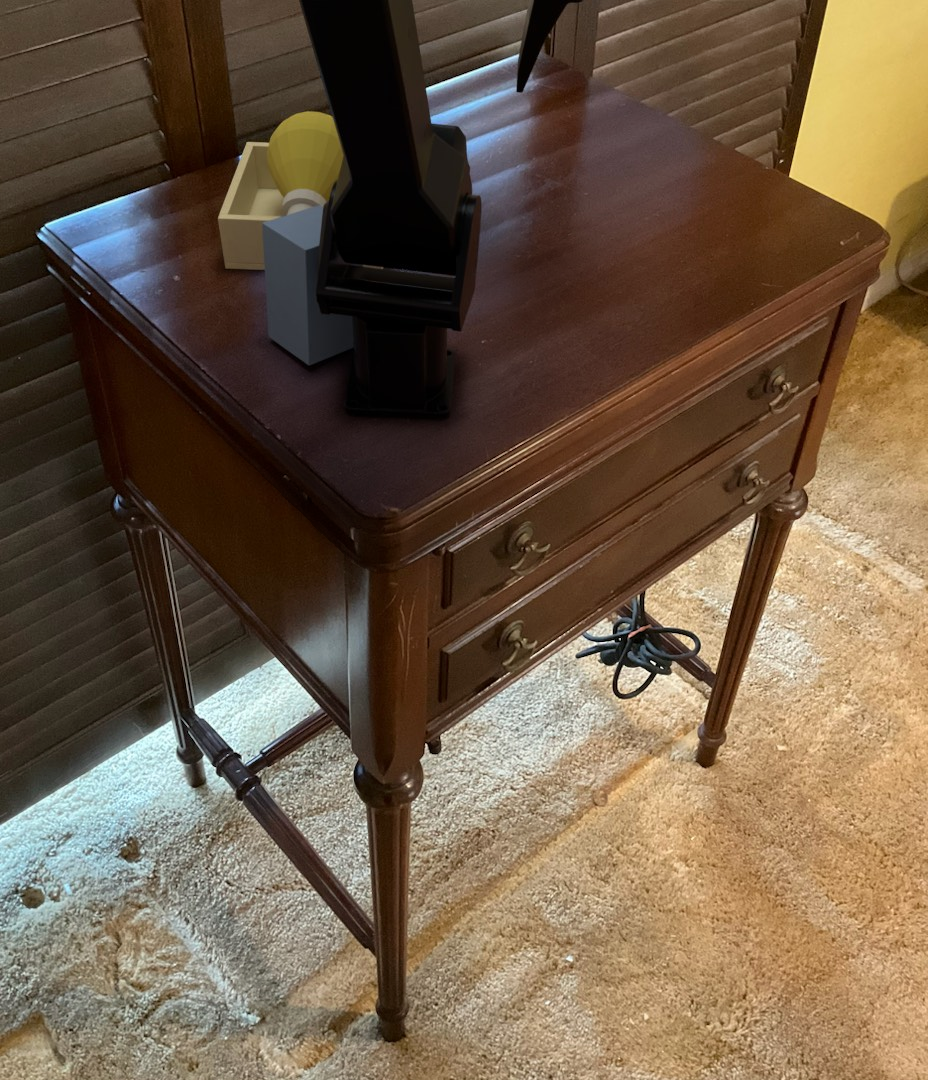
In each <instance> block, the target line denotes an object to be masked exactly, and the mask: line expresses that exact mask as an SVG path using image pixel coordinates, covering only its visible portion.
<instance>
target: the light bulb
mask: <svg viewBox="0 0 928 1080" xmlns="http://www.w3.org/2000/svg"><path fill="white" fill-rule="evenodd" d="M268 143H269V146H268V150H267V157H266V158H267V164H268V169H269V171H270V174H271V176H272V178H273V180H274V182H275V184H276V186H277V188H278V190H279V191H280V193H281V195H282V196H283V197H284V200H283V204H282V210H281V213H282V216H286V215H289V214H292V213H295V212H299V211H302V210H305V209H308V208H311V207H315V206H318V205H320V206H322V207H323V206H324V204H325V203H326V202H327V201H328V200H329V198H330V193H331V190H332V187H333V184H334V182H335V181H336V180H337V179H338V177H339V172H340V168H341V164H342V159H343V151H342V148H341V144H340V141H339V137H338V134H337V130H336V127H335V123H334V120H333V117H332V115H330V114H327V113H324V112H320V111H310V110H309V111H308V110H307V111H303V112H298V113H295V114H292V115H291V116H289V117H287V118H286V119H284V120H283V121H282V122H281V123H280V124H279V125H278V126H277V128H276V129H275V130H274V131H273V133H272V135H271V136H270V139H269V142H268Z"/></svg>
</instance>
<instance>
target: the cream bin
mask: <svg viewBox="0 0 928 1080" xmlns="http://www.w3.org/2000/svg"><path fill="white" fill-rule="evenodd" d="M268 146H269V142H261V141H260V142H259V141H258V142H257V141H247V142H246V144H245V147H244V149H243V152H242V154H241V156H240V159H239V162H238V165H237V167H236V170H235V173H234V174H233V177H232V180H231V183H230V185H229V188H228V191H227V193H226V196H225V198H224V201H223V202H222V203H223V204H222V205H221V209H220V211H219V214H218V217H217V223H218V229H219V235H220V241H221V248H222V255H223V261H224V268H225V269H227V270H228V269H229V270H252V271H265V266H264V248H263V231H262V223H263V222H266V221H270V220H273V219H276V218H279V217H282V213H281V210H282V204H283V200H284V197H283V196H282V195H281V193H280V191H279V190H278V188H277V186H276V184H275V182H274V180H273V178H272V176H271V174H270V171H269V169H268V164H267V158H266V157H267V150H268ZM363 267H370V268H378V269H385V267H377V266H368V265H363Z"/></svg>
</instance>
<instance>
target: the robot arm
mask: <svg viewBox="0 0 928 1080" xmlns="http://www.w3.org/2000/svg"><path fill="white" fill-rule="evenodd" d="M584 1H585V0H528V3H527V8H526V13H525V20H524V25H523V30H522V36H521V42H520V46H519V51H518V52H519V53H518V59H517V66H516V67H517V69H516V89H515V90H516V93H517V94H518V93H519V94H522V93H523V92H524V90H525V88H526V86H527V83H528V81H529V80H530V79H529V78H530V76H531V74H532V72H533V69H534V67H535V65H536V62H537V61H538V57H539V55H540V53H541V51H542V49H543V47H544V44H545V41H546V40H547V38H548V36H549V35H550V33H551V32H552V30H553V28H554V27H555V25H556V23H557V22H558V20H559V19H560V16H561V15H562V14H563V12H564V11H565V9H566V7H567V5H568V4H579V3H582V2H584ZM298 2H299V6H300V8H301V12H302V16H303V19H304V22H305V26H306V30H307V33H308V36H309V40H310V44H311V47H312V50H313V54H314V58H315V62H316V64H317V68H318V71H319V75H320V79H321V81H322V85H323V89H324V93H325V95H326V98H327V102H328V105H329V106H328V107H329V110H330V113H331V116H332V117H333V120H334V123H335V127H336V130H337V134H338V137H339V141H340V144H341V148H342V151H343V159H342V164H341V168H340V172H339V177H338V179H337V180H336V181H335V182H334V184H333V187H332V190H331V193H330V198H329V200H328V201H327V202H326V203H325V204H324V206H323V214H322V223H321V233H320V243H319V252H318V265H317V276H318V280H317V287H316V297H317V303H318V304H319V308H320V312H321V314H327V315H330V314H339V315H346V316H352V326H353V342H354V348H353V356H352V361H351V368H350V372H349V377H348V381H347V382H348V383H347V388H346V393H345V399H344V411H345V412H346V413H347V414H350V415H365V416H366V415H367V416H390V417H410V418H411V417H412V418H433V419H435V418H436V419H437V418H438V419H447V418H448V417H450V416H451V413H452V412H451V411H452V399H453V389H454V375H455V365H456V364H455V363H456V352H455V350H453V349H450V348H448V329H449V330H451V331H454V332H462V330H463V328H464V327H463V326H464V325H465V321H466V318H467V315H468V312H469V308H470V306H471V303H472V301H473V296H474V294H475V290H476V282H477V281H476V280H477V271H478V260H479V259H478V258H479V246H480V237H481V236H480V235H481V224H482V208H483V207H482V197H481V195H480V194H473V183H472V178H471V177H472V176H471V165H470V164H469V160H468V149H467V147H468V146H467V137H466V135H465V134H464V132H463V131H462V129H461V128H460V126H458V125H451V124H440V123H432V118H431V112H430V106H429V105H430V104H429V100H428V99H429V97H428V92H427V86H426V81H425V79H426V78H425V73H424V65H423V61H422V54H421V48H420V41H419V34H418V29H417V23H416V16H415V10H414V2H413V0H298ZM350 263H352V264H360V265H368V266H377V267H384V268H383V269H378V268H370V267H362V266H353V265H350ZM395 269H396V270H395ZM417 272H418V273H417ZM442 275H443V276H442ZM450 276H451V277H450Z"/></svg>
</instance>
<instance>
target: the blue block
mask: <svg viewBox="0 0 928 1080" xmlns="http://www.w3.org/2000/svg"><path fill="white" fill-rule="evenodd" d="M322 214H323V207H322V206H320V205H318V206H315V207H311V208H308V209H305V210H302V211H299V212H295V213H292V214H289V215H286V216H282V217H279V218H276V219H273V220H270V221H266V222H263V223H262V231H263V248H264V266H265V270H264V281H265V283H264V284H265V299H266V318H267V333H268V335H267V336H268V338H270V339H271V340H272V341H274V342H275V343H277V344H278V345H279V346H281V348H283V349H285V350H286V351H287V352H289V353H290V354H292V355H293V356H295V357H296V358H298V359H299V360H300V361H301V362H303V363H304V364H306V365H307V366H312V365H314V364H316V363H320V362H321V361H324V360H326V359H329V358H331V357H334V356H336V355H339V354H341V353H344V352H346V351H348V350H351V349H354V342H353V326H352V316H346V315H339V314H330V315H327V314H321V312H320V308H319V304H318V303H317V297H316V287H317V280H318V276H317V265H318V252H319V243H320V233H321V223H322ZM350 265H353V266H362V267H363V265H360V264H352V263H350Z"/></svg>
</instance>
